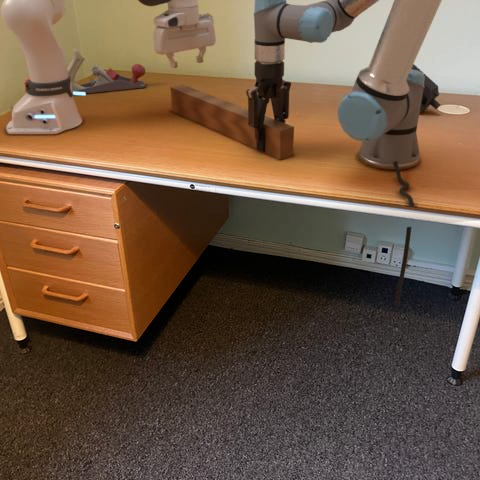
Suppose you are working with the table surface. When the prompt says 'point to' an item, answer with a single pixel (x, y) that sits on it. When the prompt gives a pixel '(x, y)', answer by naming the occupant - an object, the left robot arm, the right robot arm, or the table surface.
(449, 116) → the table surface
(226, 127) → the bar
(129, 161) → the table surface
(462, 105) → the table surface
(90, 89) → the hand plane
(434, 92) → the tool
